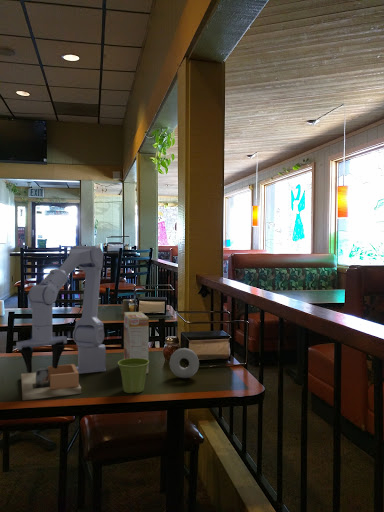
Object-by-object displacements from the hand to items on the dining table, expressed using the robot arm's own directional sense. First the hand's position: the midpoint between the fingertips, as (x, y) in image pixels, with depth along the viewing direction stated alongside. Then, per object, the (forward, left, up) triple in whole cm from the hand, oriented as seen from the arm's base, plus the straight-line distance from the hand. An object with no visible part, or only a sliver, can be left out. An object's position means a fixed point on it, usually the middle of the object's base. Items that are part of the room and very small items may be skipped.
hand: (42, 369), depth 124 cm
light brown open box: (-5, 0, -4) cm, 7 cm away
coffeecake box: (-32, -13, -6) cm, 35 cm away
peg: (0, 0, -6) cm, 6 cm away
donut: (-44, +4, -6) cm, 45 cm away
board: (-2, -4, -6) cm, 8 cm away
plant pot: (-25, +10, -6) cm, 28 cm away
